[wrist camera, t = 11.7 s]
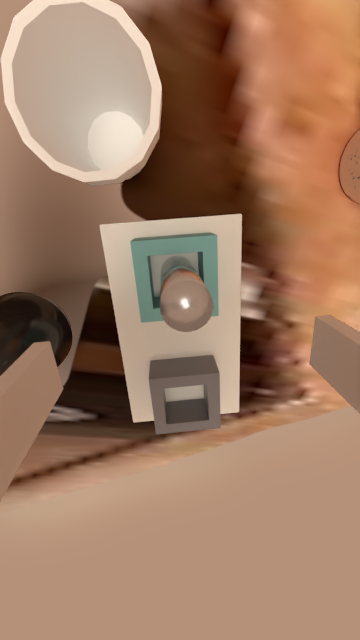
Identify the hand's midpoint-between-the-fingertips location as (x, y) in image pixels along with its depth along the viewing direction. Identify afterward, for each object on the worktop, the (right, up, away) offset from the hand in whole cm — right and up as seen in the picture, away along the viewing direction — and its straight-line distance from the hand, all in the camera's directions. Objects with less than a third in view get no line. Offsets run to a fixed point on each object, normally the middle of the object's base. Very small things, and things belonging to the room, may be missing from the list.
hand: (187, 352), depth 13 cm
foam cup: (-7, +20, +15) cm, 26 cm away
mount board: (0, +1, +23) cm, 23 cm away
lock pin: (-1, +7, +19) cm, 20 cm away
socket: (-1, +7, +19) cm, 20 cm away
